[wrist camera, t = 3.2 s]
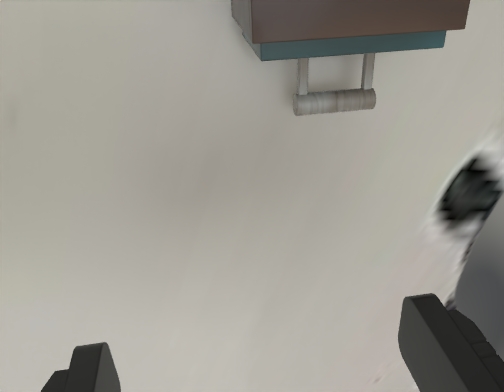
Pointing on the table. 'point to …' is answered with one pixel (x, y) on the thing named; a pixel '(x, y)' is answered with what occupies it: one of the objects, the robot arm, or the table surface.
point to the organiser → (344, 18)
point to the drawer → (342, 46)
